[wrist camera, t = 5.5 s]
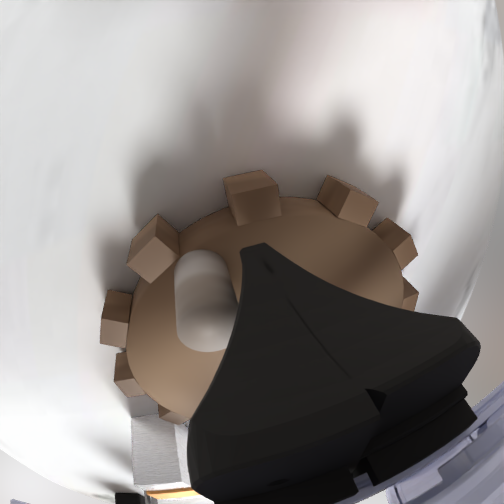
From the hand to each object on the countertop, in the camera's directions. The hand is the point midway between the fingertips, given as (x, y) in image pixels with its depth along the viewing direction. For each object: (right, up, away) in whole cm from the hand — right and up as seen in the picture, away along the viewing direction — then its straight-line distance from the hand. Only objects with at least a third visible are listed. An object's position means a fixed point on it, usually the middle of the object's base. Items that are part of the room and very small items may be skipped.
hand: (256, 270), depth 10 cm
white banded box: (-7, -14, +11) cm, 19 cm away
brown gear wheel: (+1, -3, +6) cm, 7 cm away
